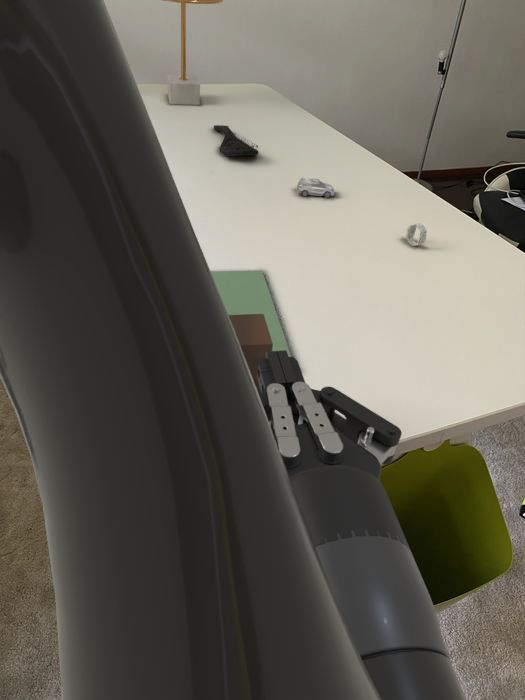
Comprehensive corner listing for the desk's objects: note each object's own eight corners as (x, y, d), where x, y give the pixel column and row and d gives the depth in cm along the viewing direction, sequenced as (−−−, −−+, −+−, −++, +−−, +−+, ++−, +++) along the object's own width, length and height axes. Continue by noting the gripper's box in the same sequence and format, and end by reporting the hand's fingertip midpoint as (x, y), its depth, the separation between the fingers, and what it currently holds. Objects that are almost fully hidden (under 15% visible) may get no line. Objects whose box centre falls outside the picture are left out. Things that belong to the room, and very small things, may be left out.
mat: (168, 378, 67) (168, 375, 67) (161, 275, 86) (161, 272, 85) (294, 371, 70) (295, 368, 70) (261, 273, 89) (262, 270, 88)
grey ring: (425, 247, 100) (430, 227, 98) (416, 250, 99) (422, 229, 97) (411, 239, 103) (416, 219, 100) (402, 241, 102) (408, 221, 99)
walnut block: (215, 446, 60) (220, 346, 51) (210, 413, 63) (214, 315, 55) (260, 443, 61) (273, 344, 52) (253, 410, 64) (263, 313, 56)
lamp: (223, 112, 154) (231, -69, 129) (148, 109, 150) (140, -78, 125) (214, 91, 170) (219, -74, 144) (146, 88, 166) (138, -82, 140)
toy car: (335, 198, 114) (338, 184, 112) (297, 196, 113) (299, 182, 112) (332, 191, 117) (335, 177, 115) (295, 189, 116) (297, 175, 114)
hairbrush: (232, 116, 142) (265, 145, 124) (232, 131, 144) (264, 162, 126) (201, 117, 140) (230, 147, 121) (201, 132, 142) (230, 163, 123)
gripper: (489, 526, 26) (369, 314, 39) (209, 560, 23) (182, 321, 37) (444, 604, 31) (351, 391, 44) (206, 639, 28) (183, 402, 41)
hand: (274, 359), depth 40 cm, fingers closed
